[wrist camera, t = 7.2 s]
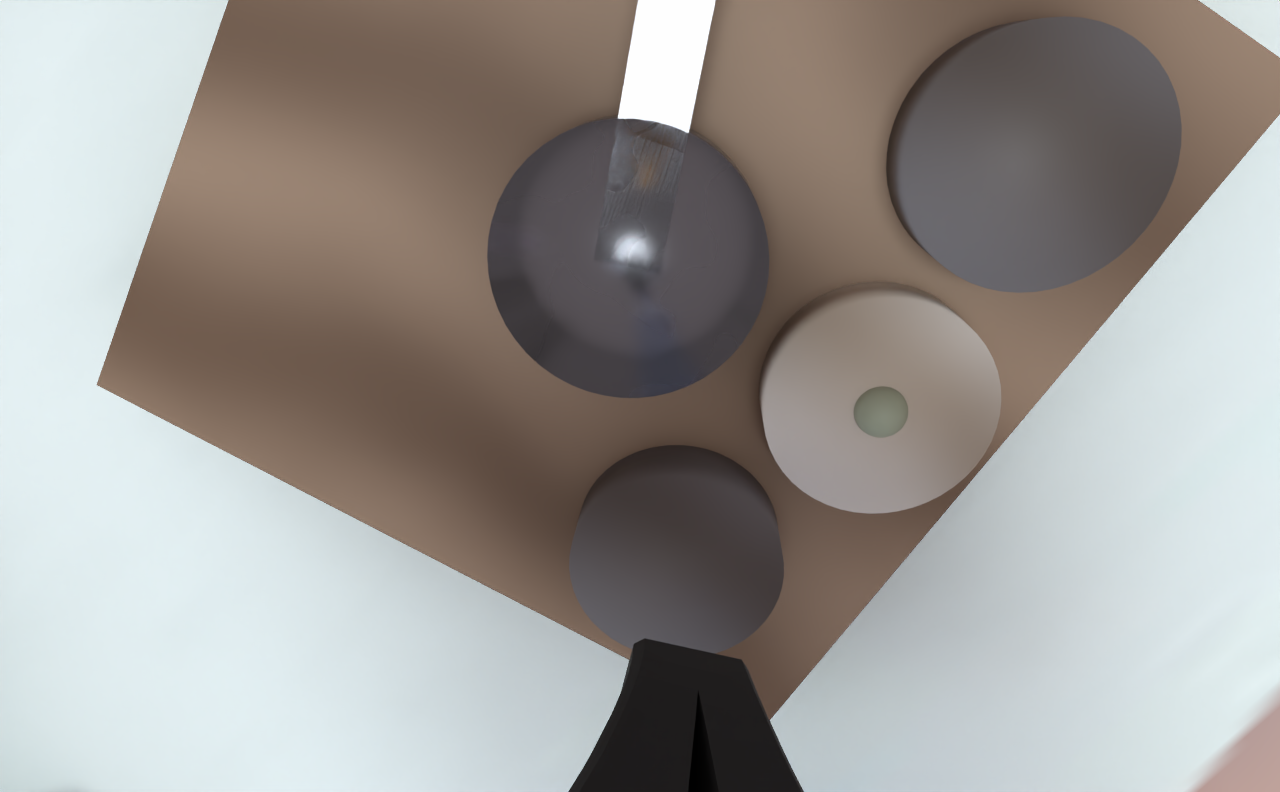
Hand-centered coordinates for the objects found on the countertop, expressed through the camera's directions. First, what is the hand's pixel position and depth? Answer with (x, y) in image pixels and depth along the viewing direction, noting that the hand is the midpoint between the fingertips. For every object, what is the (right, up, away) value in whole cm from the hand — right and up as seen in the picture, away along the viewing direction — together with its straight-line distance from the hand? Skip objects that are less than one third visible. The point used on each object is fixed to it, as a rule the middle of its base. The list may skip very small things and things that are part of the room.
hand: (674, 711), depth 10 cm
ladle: (0, +9, +5) cm, 10 cm away
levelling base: (0, +7, +7) cm, 10 cm away
